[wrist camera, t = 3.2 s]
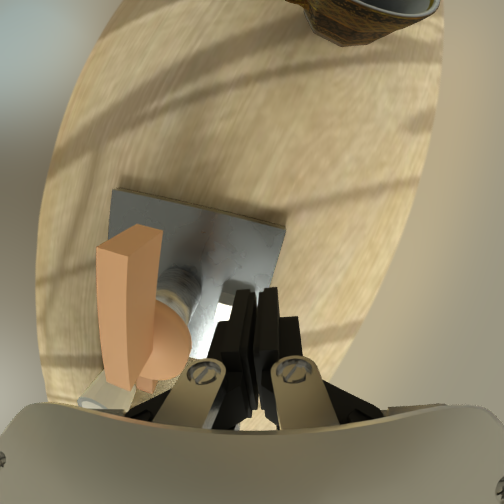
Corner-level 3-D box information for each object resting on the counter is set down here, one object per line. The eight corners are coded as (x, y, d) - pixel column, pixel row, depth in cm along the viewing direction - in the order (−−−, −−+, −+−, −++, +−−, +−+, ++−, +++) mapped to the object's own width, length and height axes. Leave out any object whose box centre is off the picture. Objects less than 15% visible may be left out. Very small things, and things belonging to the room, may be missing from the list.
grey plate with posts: (243, 363, 29) (235, 420, 21) (113, 323, 29) (78, 366, 21) (285, 226, 24) (292, 260, 16) (118, 187, 23) (64, 203, 16)
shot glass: (112, 357, 31) (88, 392, 24) (149, 391, 32) (131, 428, 26) (91, 372, 32) (70, 402, 26) (124, 401, 34) (107, 434, 27)
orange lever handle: (185, 391, 20) (167, 445, 15) (117, 367, 20) (88, 413, 15) (212, 232, 15) (183, 272, 10) (116, 209, 15) (57, 234, 10)
